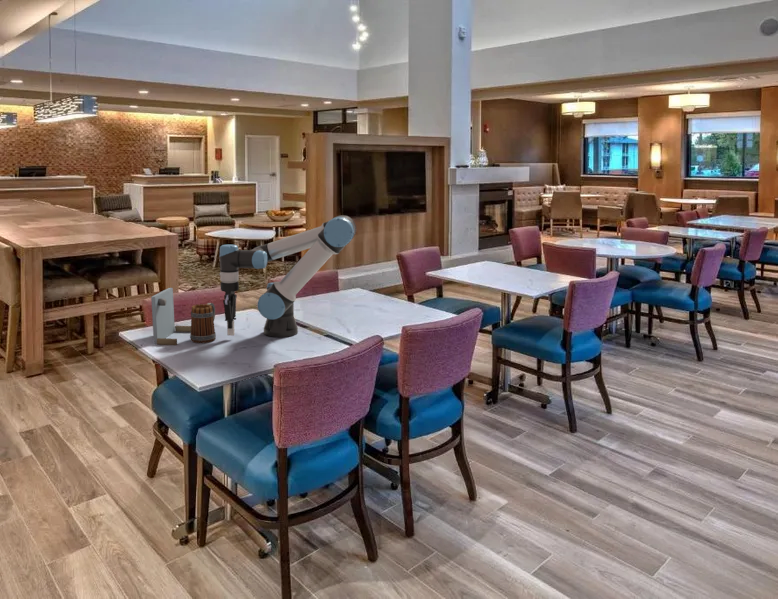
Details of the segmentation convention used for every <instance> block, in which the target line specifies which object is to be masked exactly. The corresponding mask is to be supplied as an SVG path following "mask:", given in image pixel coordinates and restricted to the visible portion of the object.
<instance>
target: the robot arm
mask: <svg viewBox="0 0 778 599" xmlns="http://www.w3.org/2000/svg"><path fill="white" fill-rule="evenodd" d="M356 233H357V225H356V222H355V220H354V219H352V218H351V217H350V216H348V215H343V214H342V215H340V214H339V215H337V216H335V217H333V218H331V219H329V220H328V221H325V222H322V224H321V225H319V226H317V227H314V228H312V229H307V230H305V231H301V232H299V233H296V234H293V235H290V236H288V237H284V238H281V239H277V240H275V241H272V242H269V243H265V244H263V245H258V246H255V247H254V248H253V249H249V250H244V249H243V250H242V249H239V247H238V245H236V244H222V245H221V246H219V256H218V257H219V272H220V273H218V275H219V277H220V278H219V279H220V291H221V292H224V296H223V298H224V299H223V300H222V303H223V308H224V309H223V310H224V321H226V328H227V329H226V330H227V336H235V321H236V320H237V318H236V316H237V315H236V312H237V298H238V296H237V294H236V292H238V291H239V290H240V285H239V284H240V282H239V278H240V276H239V275H240V274H239V269H256V270H259V269H265V268H267V265H268V262H272V261H274V260H277V259H280V258H284V257H286V256H290V255H293V254H296V253H299V252H302V251H306V250H308V251H306V252H305V254H303V256H302V257H301V258H300V259H299V260H298V261H297V262H296V263H295V264H294V266H293V267H292V268H291V269H290V270H289V271H288V272H287V274H285V276H284V277H283V278H282V279H281V280H280V281H274V282H268V283H267V285H266V291H265V292H264V293H262V294H261V295H260V296H259V298H258V301H257V310H258V312H259V313H260V315H261V316H262V317H263V318H265V319H266V321H265V324H264V327H263V334H264V335H265V336H268V337H273V338H274V337H275V338H285V337H286V338H287V337H292V336H295V335H297V334H298V332H299V327H298V325H297V322H296V319H295V315H294V314H295V313H294V311H295V308H294V307H295V306H294V303H295V302H296V299H297V298H296V296H297V294H298V293H299V292H300V291H301V289H303V287H305V285H306V284H307V283H308V282H309V281H310V280H311V279H312V278H313V277H314V276H315V274H316V273H318V271H319V270H320V269H321V268H322V267H323V266H324V265H325V263H326V262H327V261H329V259H330V258H331V257H332V256H333V255H339V254H340V253H341V251H342V250H344V248H346V246H347V245H348V244H349V243H350V242H351V241H352V240H353V238H354V237H355V235H356Z"/></svg>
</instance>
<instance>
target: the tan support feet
mask: <svg viewBox="0 0 778 599" xmlns="http://www.w3.org/2000/svg"><path fill="white" fill-rule="evenodd" d="M175 332H177V333H178V332H179V333H181V332H182V333H191V325H175ZM175 332H174V333H175ZM177 345H178V338H170V337H167V338H157V344H156V346H177Z"/></svg>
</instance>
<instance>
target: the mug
mask: <svg viewBox="0 0 778 599" xmlns="http://www.w3.org/2000/svg"><path fill="white" fill-rule="evenodd" d="M190 317H191V318H190V320H191V321H190V326H191V332H190V335H189V338H190V341H191V342H192V343H195V344H208V343H209V344H210V343H212V342H214V341H215V340H216V336H217V334H216V329H215V317H216V307H215V304H214V303H213V302H207V303H205V304H202V303H201V304H194V305H192V306H191V312H190Z"/></svg>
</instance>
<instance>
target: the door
mask: <svg viewBox="0 0 778 599" xmlns="http://www.w3.org/2000/svg"><path fill="white" fill-rule="evenodd" d="M150 300H151V314H152V315H151V317H152V334H153V344H155V345H157V338H169V337H170V336H171V335H172V334H174V333H175V326H176V325H175V309H174V308H175V305H174V304H175V303H174V289H173V287H168V288H166V289H164V290H162V291H159V292H158V293H156V294H154V295H152V296H151V298H150ZM173 332H174V333H173Z"/></svg>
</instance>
